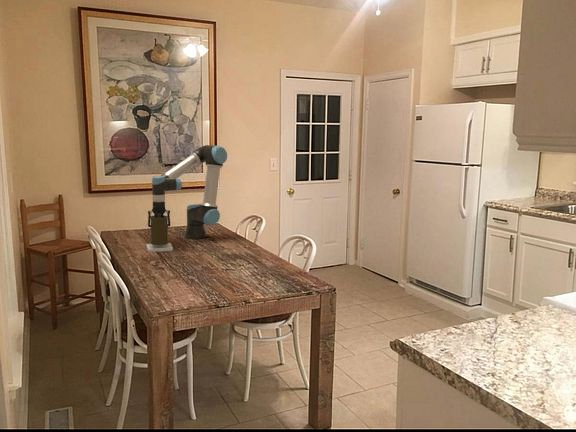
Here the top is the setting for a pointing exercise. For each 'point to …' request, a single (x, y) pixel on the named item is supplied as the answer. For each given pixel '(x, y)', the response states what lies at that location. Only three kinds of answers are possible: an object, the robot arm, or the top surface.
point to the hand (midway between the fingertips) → (159, 237)
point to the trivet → (159, 247)
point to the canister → (159, 230)
